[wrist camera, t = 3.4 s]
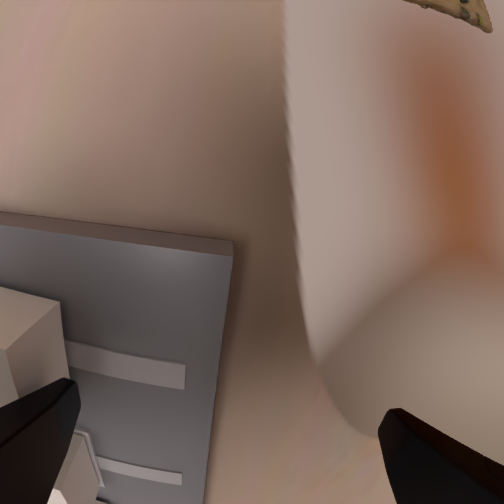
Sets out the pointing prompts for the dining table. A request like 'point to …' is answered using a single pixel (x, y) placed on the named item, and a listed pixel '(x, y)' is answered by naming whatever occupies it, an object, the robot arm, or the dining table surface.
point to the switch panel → (132, 344)
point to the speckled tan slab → (461, 11)
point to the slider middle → (76, 476)
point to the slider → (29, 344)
